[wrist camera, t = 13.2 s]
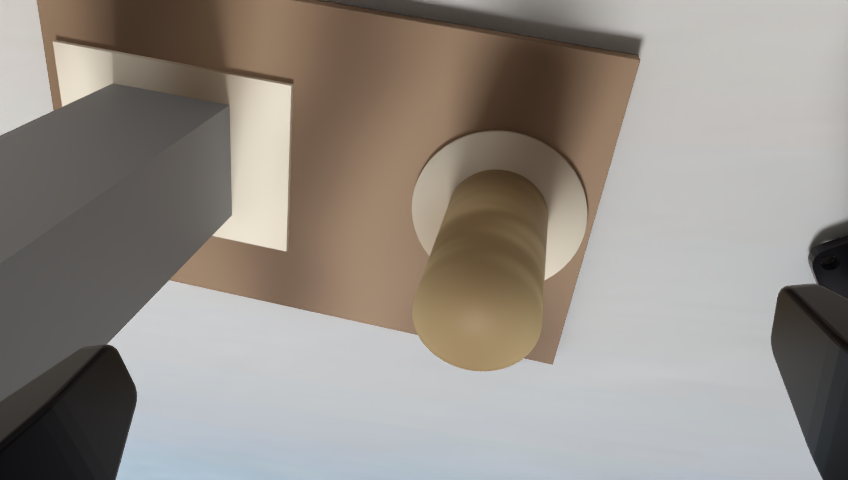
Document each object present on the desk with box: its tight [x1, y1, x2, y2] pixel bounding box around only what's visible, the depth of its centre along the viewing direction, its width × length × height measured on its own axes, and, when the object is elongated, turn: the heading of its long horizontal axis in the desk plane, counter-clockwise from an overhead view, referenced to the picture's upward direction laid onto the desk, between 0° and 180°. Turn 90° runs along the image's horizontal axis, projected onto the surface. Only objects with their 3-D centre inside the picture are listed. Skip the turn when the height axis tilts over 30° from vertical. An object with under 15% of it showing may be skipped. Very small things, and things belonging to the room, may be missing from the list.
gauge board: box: [37, 0, 640, 371], centre depth 20 cm, size 18×11×7 cm, turn 83°
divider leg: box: [0, 84, 232, 401], centre depth 17 cm, size 4×4×12 cm
